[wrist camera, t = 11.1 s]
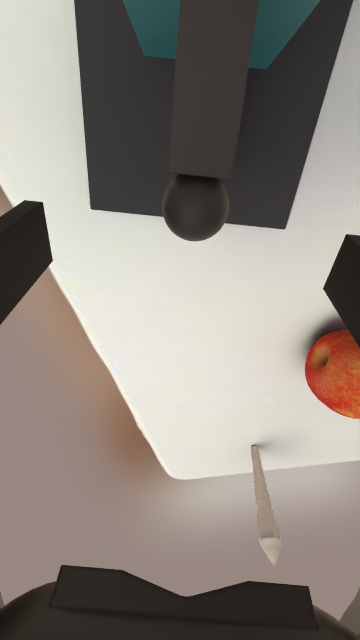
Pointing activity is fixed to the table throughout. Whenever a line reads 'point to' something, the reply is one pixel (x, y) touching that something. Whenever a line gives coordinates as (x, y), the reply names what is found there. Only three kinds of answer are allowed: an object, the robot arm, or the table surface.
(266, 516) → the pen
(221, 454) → the table surface
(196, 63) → the iron
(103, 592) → the robot arm
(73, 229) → the table surface
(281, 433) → the table surface
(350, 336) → the apple
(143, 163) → the ironing mat
